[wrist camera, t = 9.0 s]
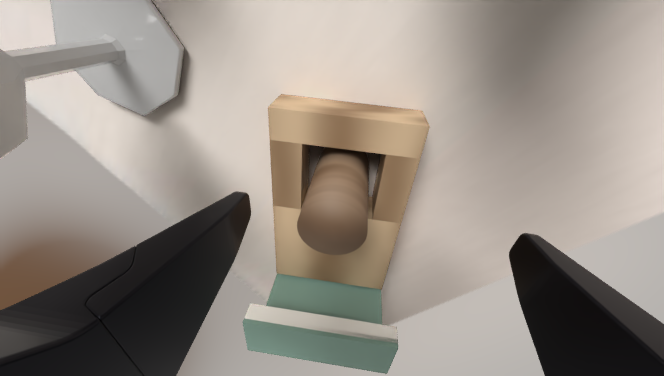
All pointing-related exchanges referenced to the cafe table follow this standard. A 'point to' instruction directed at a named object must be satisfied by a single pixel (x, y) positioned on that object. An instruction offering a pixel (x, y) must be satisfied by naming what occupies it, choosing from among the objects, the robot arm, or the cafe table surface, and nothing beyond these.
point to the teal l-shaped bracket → (322, 324)
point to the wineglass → (95, 60)
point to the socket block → (383, 207)
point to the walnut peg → (336, 203)
